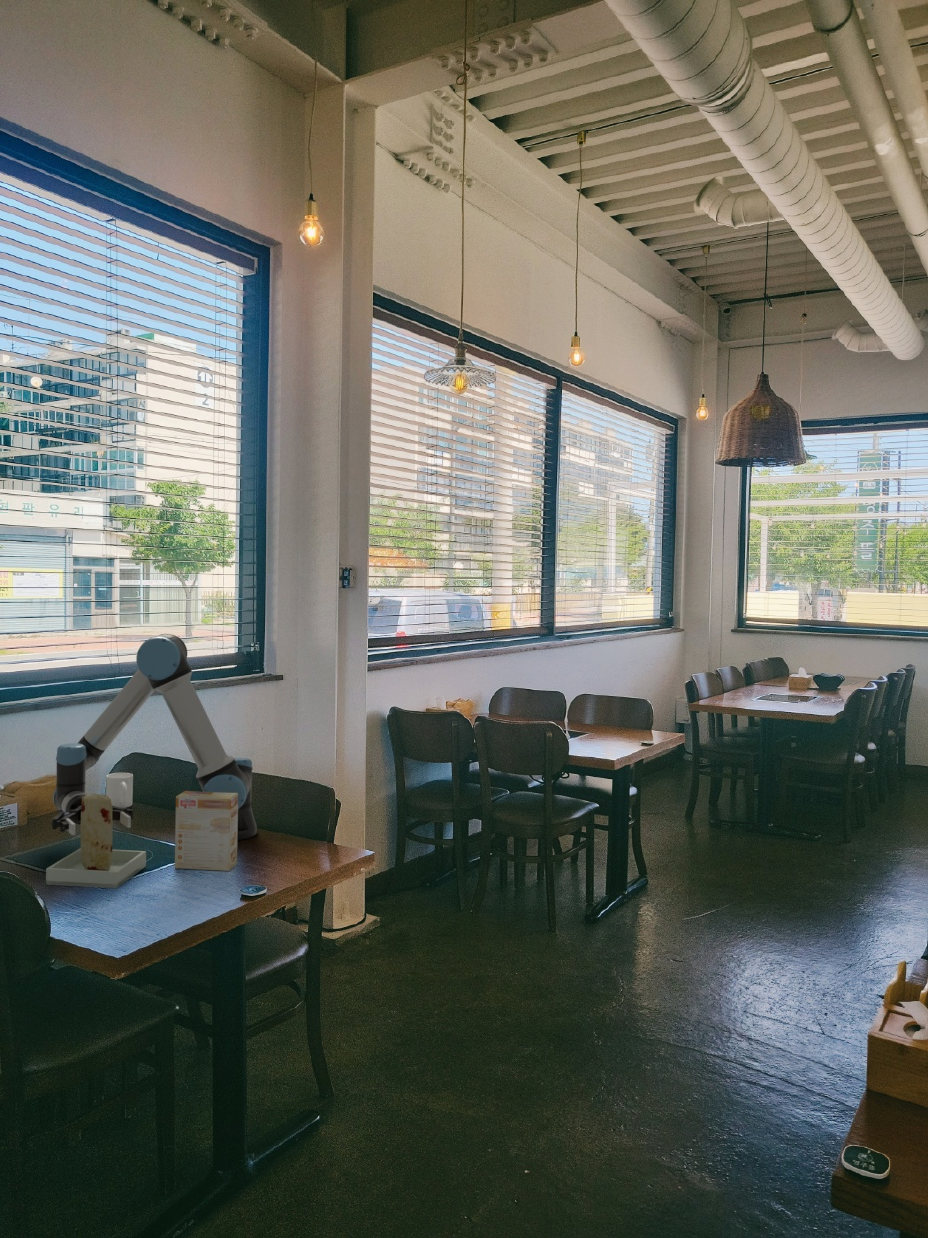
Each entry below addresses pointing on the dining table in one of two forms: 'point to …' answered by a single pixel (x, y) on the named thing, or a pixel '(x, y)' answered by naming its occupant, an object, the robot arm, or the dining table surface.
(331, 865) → the dining table surface
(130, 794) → the mug
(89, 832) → the food model
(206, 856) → the coffeecake box
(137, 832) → the dining table surface
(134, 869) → the bin
